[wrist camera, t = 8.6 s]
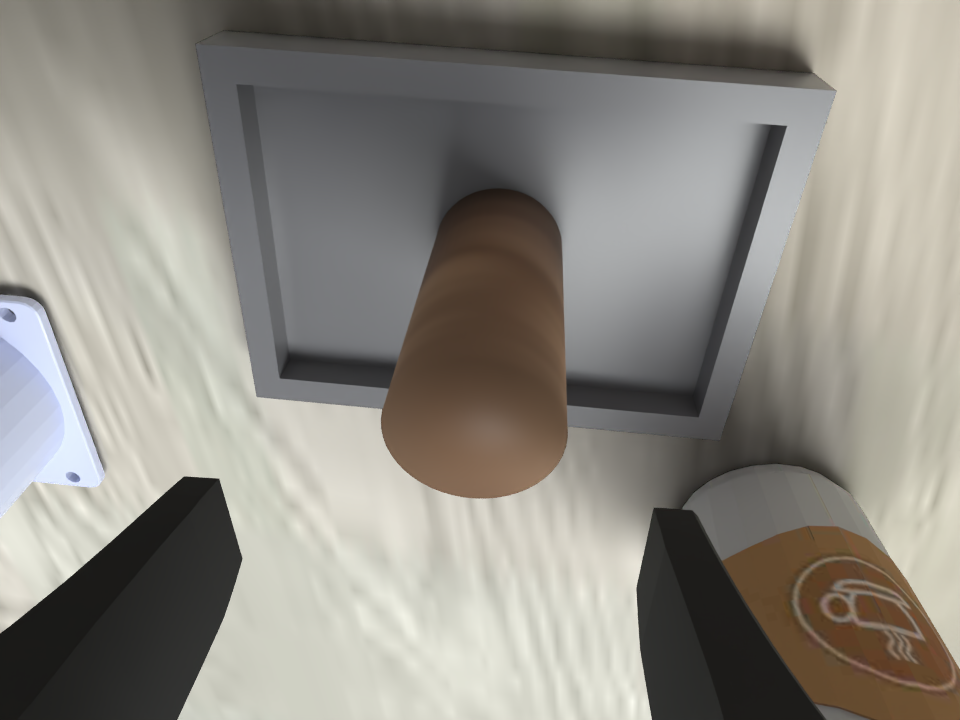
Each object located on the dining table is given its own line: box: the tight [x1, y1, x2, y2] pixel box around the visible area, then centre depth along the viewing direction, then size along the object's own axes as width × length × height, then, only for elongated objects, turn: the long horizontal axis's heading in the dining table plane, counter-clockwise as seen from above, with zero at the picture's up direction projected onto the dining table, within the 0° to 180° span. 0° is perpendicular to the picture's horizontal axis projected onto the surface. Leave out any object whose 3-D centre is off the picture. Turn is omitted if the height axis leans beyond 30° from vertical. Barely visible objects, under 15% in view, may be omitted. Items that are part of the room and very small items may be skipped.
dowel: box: [381, 188, 568, 498], centre depth 16 cm, size 3×3×8 cm
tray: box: [195, 30, 837, 441], centre depth 19 cm, size 14×10×2 cm
